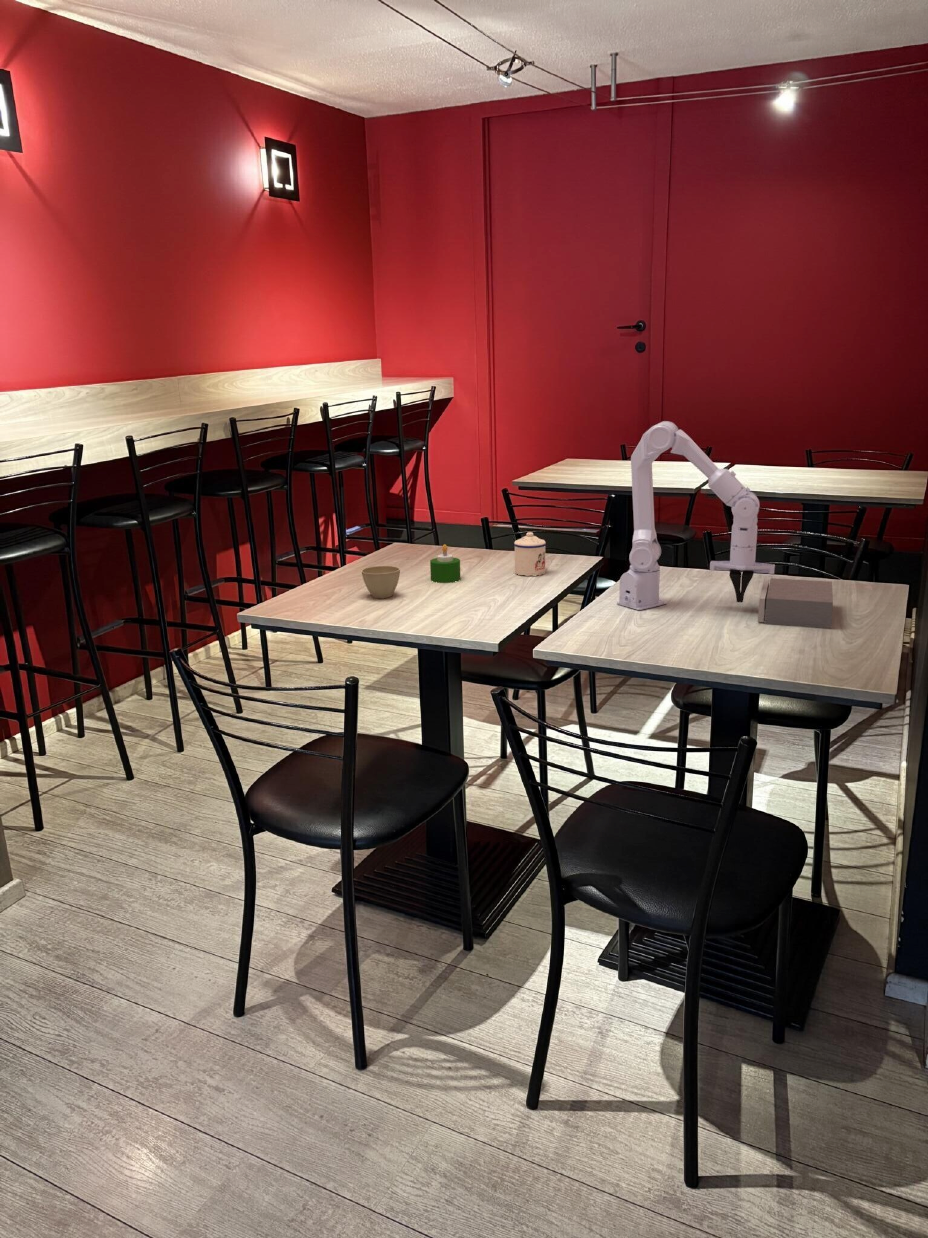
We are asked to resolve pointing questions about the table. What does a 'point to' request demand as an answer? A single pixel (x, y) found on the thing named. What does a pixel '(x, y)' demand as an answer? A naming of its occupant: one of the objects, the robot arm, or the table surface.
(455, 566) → the candle
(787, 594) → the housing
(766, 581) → the tray
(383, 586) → the bowl
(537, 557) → the teacup with lid
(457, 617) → the table surface
